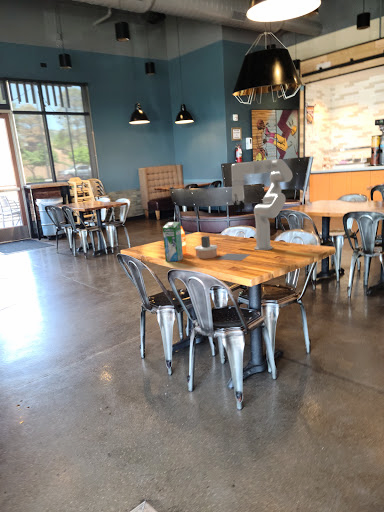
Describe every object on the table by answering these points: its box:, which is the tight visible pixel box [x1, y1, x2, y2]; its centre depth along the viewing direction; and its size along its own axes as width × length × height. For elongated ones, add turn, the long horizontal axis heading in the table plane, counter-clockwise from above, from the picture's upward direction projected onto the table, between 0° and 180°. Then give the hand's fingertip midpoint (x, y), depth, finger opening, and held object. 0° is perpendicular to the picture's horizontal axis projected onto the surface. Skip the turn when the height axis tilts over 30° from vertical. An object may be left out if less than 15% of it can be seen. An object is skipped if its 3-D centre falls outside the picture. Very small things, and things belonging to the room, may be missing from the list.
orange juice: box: [181, 225, 187, 255], centre depth 272 cm, size 8×9×20 cm
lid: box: [194, 235, 218, 251], centre depth 256 cm, size 15×15×8 cm
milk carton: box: [162, 221, 184, 262], centre depth 254 cm, size 9×9×25 cm
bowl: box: [195, 249, 218, 260], centre depth 258 cm, size 13×13×6 cm
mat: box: [217, 252, 252, 262], centre depth 251 cm, size 17×17×1 cm
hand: (239, 209), depth 250 cm, fingers open, 9 cm apart
